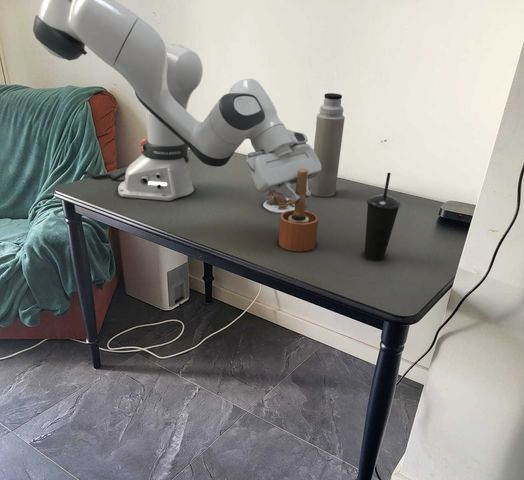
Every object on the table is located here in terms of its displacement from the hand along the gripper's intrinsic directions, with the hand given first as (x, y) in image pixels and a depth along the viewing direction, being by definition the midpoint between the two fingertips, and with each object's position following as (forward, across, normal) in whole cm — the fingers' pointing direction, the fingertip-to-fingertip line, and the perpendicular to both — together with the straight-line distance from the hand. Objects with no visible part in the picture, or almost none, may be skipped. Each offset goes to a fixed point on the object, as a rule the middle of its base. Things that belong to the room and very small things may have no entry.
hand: (302, 199), depth 122 cm
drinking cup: (+20, +9, -3) cm, 22 cm away
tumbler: (+8, 0, +9) cm, 12 cm away
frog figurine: (-6, +17, +23) cm, 29 cm away
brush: (+6, 0, +6) cm, 8 cm away
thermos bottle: (-6, +35, +23) cm, 42 cm away
